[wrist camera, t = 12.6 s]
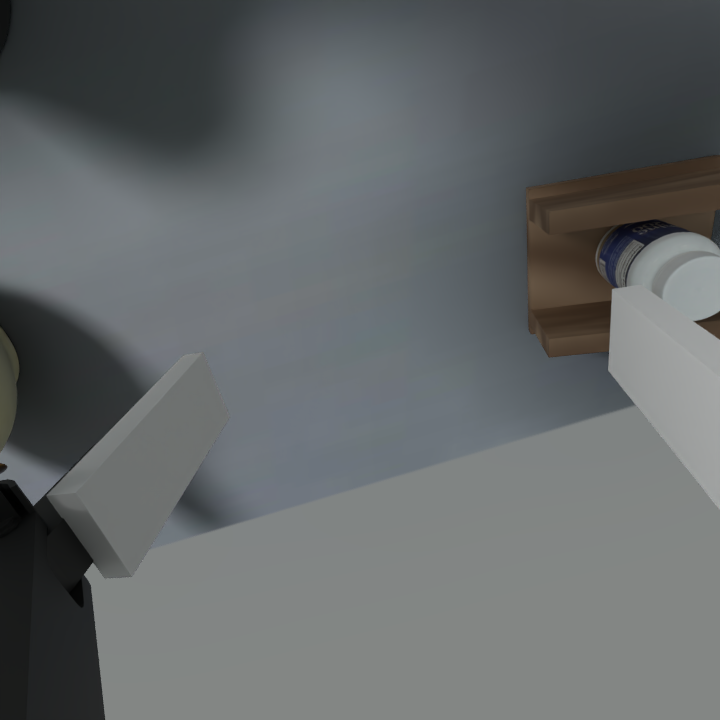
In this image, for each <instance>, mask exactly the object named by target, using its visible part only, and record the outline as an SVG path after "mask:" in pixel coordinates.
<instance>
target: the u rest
mask: <svg viewBox="0 0 720 720" xmlns="http://www.w3.org/2000/svg"><path fill="white" fill-rule="evenodd" d="M526 209H527V265H528V321H529V331H530V333H531V334H536V336H537V338H538V339H539V341H540V343H541V345H542V346H543V348H544V350H545V351H546V353H547V355H548V357H558V356H568V355H578V354H587V353H597V352H607V351H609V343H610V323H611V303H612V289H615V287H614V286H612V285H611V284H610V283H609V282H607V281H606V280H605V279H604V278H603V277H602V276H601V274H600V273H599V271H598V269H597V266H596V251H597V248H598V245H599V243H600V241H601V239H602V238H603V236H604V235H605V234H606V233H607V232H608V231H609V230H610V229H611V228H612V227H613V226H615V225H620V224H627V223H634V222H640V221H647V220H653V219H657V220H660V221H663V222H666V223H669V224H672V225H675V226H678V227H681V228H683V229H686V230H689V231H692V232H694V233H697V234H700V235H702V236H704V237H706V238H708V239H710V240H711V236H712V229H713V223H714V217H715V211H716V210H719V209H720V155H713V156H707V157H702V158H696V159H690V160H684V161H678V162H673V163H667V164H661V165H655V166H649V167H644V168H638V169H632V170H626V171H620V172H615V173H609V174H603V175H597V176H591V177H586V178H580V179H574V180H568V181H562V182H557V183H551V184H545V185H539V186H533V187H528V188H526ZM694 322H695V323H696V324H698V325H699V326H701V327H702V328H704V329H705V330H706V331H708V332H709V333H711V334H712V335H714V336H715V337H716V338H718V339H719V340H720V311H719V312H718V313H716V314H714V315H712V316H710V317H708V318H705V319H702V320H697V321H694Z"/></svg>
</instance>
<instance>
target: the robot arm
mask: <svg viewBox="0 0 720 720" xmlns="http://www.w3.org/2000/svg"><path fill="white" fill-rule="evenodd" d="M9 21H10V0H0V52H1V50H2V48H3V46H4V43H5V40H6V37H7V33H8V28H9ZM608 371H609V372H610V373H611V375H612V376H613V377H614V378H615V380H616V381H617V382H618V383H619V385H620V386H621V387H622V388H623V390H624V391H625V392H626V393H627V395H628V396H629V397H630V398H631V400H632V401H633V402H634V403H635V405H636V406H637V407H638V408H639V410H640V411H641V412H642V413H643V415H644V416H645V417H646V418H647V420H648V421H649V422H650V423H651V425H652V426H653V427H654V428H655V430H656V431H657V432H658V433H659V435H660V436H661V437H662V438H663V440H664V441H665V442H666V443H667V445H668V446H669V447H670V448H671V449H672V451H673V452H674V453H675V455H676V456H677V457H678V458H679V460H680V461H681V462H682V463H683V465H684V466H685V467H686V468H687V470H688V471H689V472H690V473H691V475H692V476H693V477H694V478H695V480H696V481H697V482H698V483H699V485H700V486H701V487H702V488H703V490H704V491H705V492H706V493H707V495H708V496H709V497H710V498H711V500H712V501H713V502H714V503H715V505H716V506H717V507H718V508H719V510H720V340H719V339H718V338H716V337H715V336H714V335H712V334H711V333H709V332H708V331H706V330H705V329H704V328H702V327H701V326H699V325H698V324H696V323H695V322H694V321H692V320H691V319H689V318H688V317H686V316H685V315H684V314H682V313H681V312H679V311H678V310H676V309H675V308H674V307H672V306H671V305H669V304H668V303H666V302H665V301H664V300H662V299H661V298H659V297H658V296H656V295H655V294H654V293H652V292H651V291H649V290H648V289H647V288H645V287H644V286H642V285H635V286H628V287H622V288H615V289H612V303H611V323H610V343H609V364H608ZM229 418H230V415H229V413H228V411H227V408H226V406H225V403H224V401H223V399H222V396H221V394H220V391H219V389H218V387H217V384H216V382H215V379H214V377H213V374H212V372H211V370H210V367H209V365H208V362H207V360H206V358H205V355H204V353H203V352H201V353H195V354H188V355H183V356H182V357H181V358H180V359H179V360H178V361H177V362H176V363H175V364H174V365H173V366H172V367H171V368H170V369H169V370H168V371H167V372H166V374H165V375H164V376H163V377H162V378H161V379H160V380H159V381H158V382H157V383H156V384H155V385H154V386H153V387H152V388H151V389H150V390H149V391H148V392H147V393H146V394H145V395H144V396H143V397H142V398H141V399H140V400H139V401H138V402H137V403H136V404H135V405H134V406H133V407H132V408H131V409H130V410H129V411H128V412H127V413H126V414H125V415H124V416H123V418H122V419H121V420H120V421H119V422H118V423H117V424H116V425H115V426H114V427H113V428H112V429H111V430H110V431H109V432H108V433H107V434H106V435H105V436H104V437H103V438H102V439H101V440H100V441H99V442H98V443H97V444H95V445H94V446H92V447H91V448H90V449H89V450H88V451H87V452H86V453H85V454H84V455H83V456H82V457H81V458H80V462H77V463H76V464H75V465H74V466H73V467H72V468H71V469H70V470H69V473H66V474H65V475H64V476H63V477H62V478H61V479H60V480H59V481H58V482H57V483H56V484H55V485H54V486H53V487H52V488H51V489H50V490H49V491H48V492H47V493H46V494H45V495H44V496H43V497H42V498H41V499H40V500H39V501H38V502H37V503H36V504H35V505H34V506H33V505H32V504H31V503H30V501H29V500H28V498H27V497H26V496H25V494H24V493H23V492H22V490H21V489H20V488H19V486H18V485H17V484H16V482H15V481H13V480H8V479H7V480H2V481H0V720H105V714H104V705H103V695H102V687H101V677H100V668H99V658H98V649H97V640H96V630H95V621H94V612H93V602H92V593H91V585H90V583H89V581H88V580H87V578H86V577H85V576H84V573H85V572H86V571H87V569H88V568H89V567H90V565H91V564H92V563H94V564H95V565H96V567H97V568H98V570H99V571H100V573H101V574H102V575H103V577H104V578H122V577H132V576H133V575H134V573H135V571H136V570H137V568H138V567H139V565H140V563H141V562H142V560H143V558H144V557H145V555H146V553H147V552H148V550H149V549H150V547H151V545H152V544H153V542H154V540H155V539H156V537H157V536H158V534H159V532H160V531H161V529H162V527H163V526H164V524H165V522H166V521H167V519H168V518H169V516H170V514H171V513H172V511H173V509H174V508H175V506H176V505H177V503H178V501H179V500H180V498H181V496H182V495H183V493H184V491H185V490H186V488H187V487H188V485H189V483H190V482H191V480H192V478H193V477H194V475H195V474H196V472H197V470H198V469H199V467H200V465H201V464H202V462H203V460H204V459H205V457H206V456H207V454H208V452H209V451H210V449H211V447H212V446H213V444H214V443H215V441H216V439H217V438H218V436H219V434H220V433H221V431H222V429H223V428H224V426H225V425H226V423H227V421H228V420H229Z"/></svg>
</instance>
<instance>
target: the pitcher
mask: <svg viewBox="0 0 720 720" xmlns="http://www.w3.org/2000/svg"><path fill="white" fill-rule="evenodd" d="M18 376H19V361H18V356H17V353H16V351H15V348H14V346H13V344H12V343H11V341H10V339H9V338H8V336H7V335H6V333H5V332H4V331H3V329H2V328H1V327H0V453H1V451H2V450H3V448H4V446H5V444H6V442H7V440H8V438H9V436H10V433H11V431H12V428H13V424H14V421H15V416H16V409H17V387H16V383H17V380H18ZM6 469H7V465H5V464H2V463H0V474H1V473H2V472H4V471H5V470H6Z"/></svg>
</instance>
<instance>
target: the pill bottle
mask: <svg viewBox="0 0 720 720" xmlns="http://www.w3.org/2000/svg"><path fill="white" fill-rule="evenodd" d="M596 266H597V269H598V271H599V273H600V274H601V276H602V277H603V278H604V279H605V280H606V281H607V282H609V283H610V284H611V285H612V286H614V287H615V288H622V287H628V286H635V285H642V286H644V287H645V288H647V289H648V290H649V291H651V292H652V293H654V294H655V295H656V296H658V297H659V298H661V299H662V300H664V301H665V302H666V303H668V304H669V305H671V306H672V307H674V308H675V309H676V310H678V311H679V312H681V313H682V314H684V315H685V316H686V317H688V318H689V319H691V320H692V321H697V320H702V319H705V318H708V317H710V316H712V315H714V314H716V313H718V312H719V311H720V249H719V248H718V246H717V245H716V244H715V243H714V242H713V241H711V240H710V239H708V238H706V237H704V236H702V235H700V234H697V233H694V232H692V231H689V230H686V229H683V228H681V227H678V226H675V225H672V224H669V223H666V222H663V221H660V220H657V219H653V220H647V221H640V222H634V223H627V224H620V225H615V226H613V227H612V228H611V229H610V230H609V231H608V232H607V233H606V234H605V235H604V236H603V238H602V239H601V241H600V243H599V245H598V248H597V251H596Z"/></svg>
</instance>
